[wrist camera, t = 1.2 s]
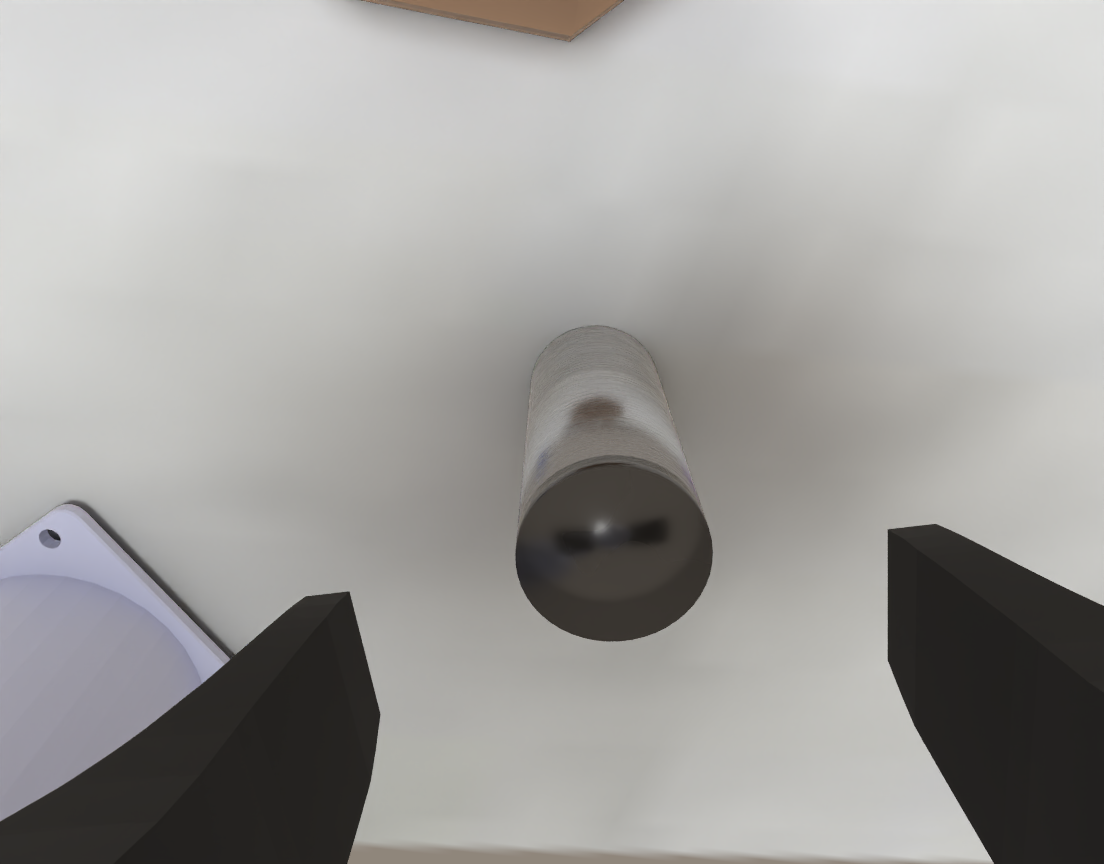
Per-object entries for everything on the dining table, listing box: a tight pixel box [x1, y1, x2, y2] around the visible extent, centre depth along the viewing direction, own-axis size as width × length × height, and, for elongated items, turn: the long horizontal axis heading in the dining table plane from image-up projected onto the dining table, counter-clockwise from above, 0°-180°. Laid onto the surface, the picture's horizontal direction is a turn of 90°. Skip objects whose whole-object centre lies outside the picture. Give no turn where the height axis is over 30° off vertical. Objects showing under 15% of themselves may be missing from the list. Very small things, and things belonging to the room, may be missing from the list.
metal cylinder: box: [516, 326, 713, 641], centre depth 18 cm, size 3×3×8 cm
